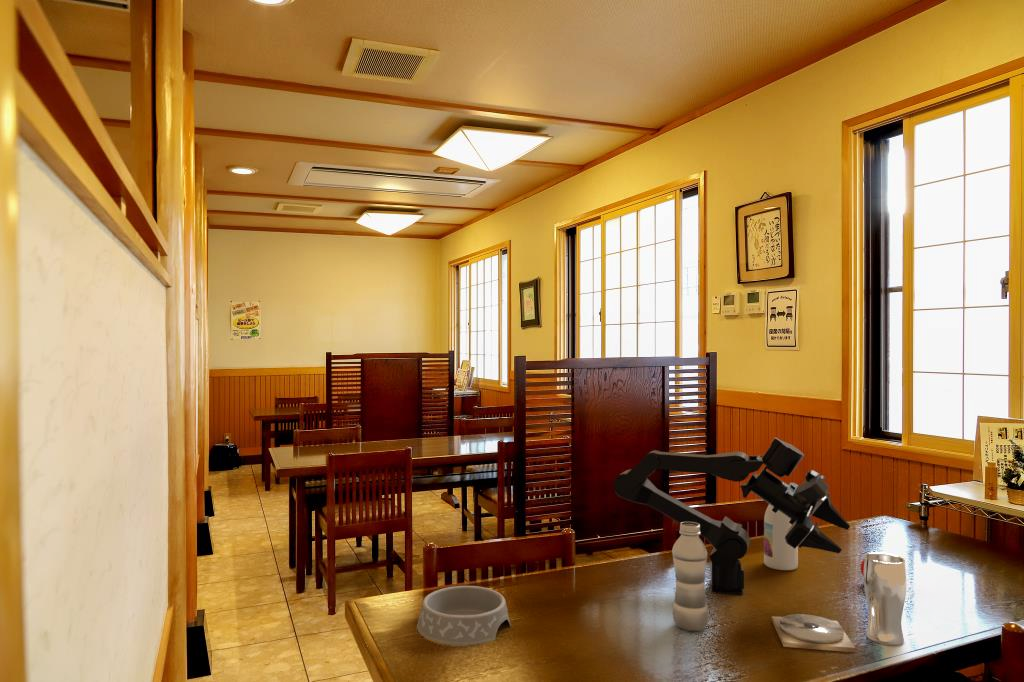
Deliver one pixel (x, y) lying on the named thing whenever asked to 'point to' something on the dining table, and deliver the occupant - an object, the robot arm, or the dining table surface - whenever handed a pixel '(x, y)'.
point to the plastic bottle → (690, 579)
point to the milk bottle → (778, 542)
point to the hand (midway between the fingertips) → (844, 539)
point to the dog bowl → (462, 615)
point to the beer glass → (885, 597)
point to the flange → (811, 629)
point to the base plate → (791, 642)
